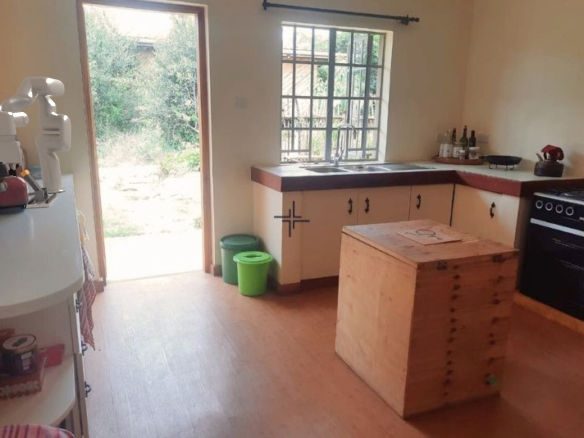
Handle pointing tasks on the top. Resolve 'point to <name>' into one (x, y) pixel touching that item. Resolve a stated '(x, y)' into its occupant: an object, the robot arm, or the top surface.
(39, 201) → the panel
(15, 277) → the top surface
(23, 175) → the lever
